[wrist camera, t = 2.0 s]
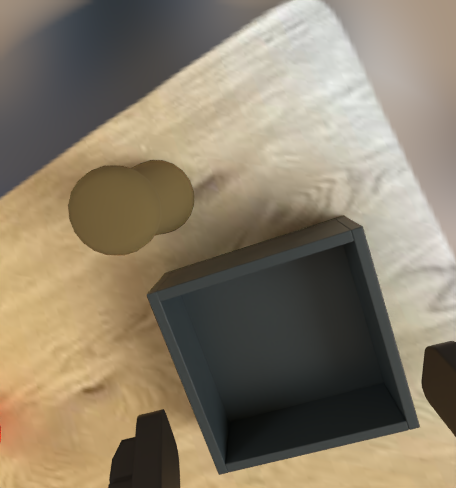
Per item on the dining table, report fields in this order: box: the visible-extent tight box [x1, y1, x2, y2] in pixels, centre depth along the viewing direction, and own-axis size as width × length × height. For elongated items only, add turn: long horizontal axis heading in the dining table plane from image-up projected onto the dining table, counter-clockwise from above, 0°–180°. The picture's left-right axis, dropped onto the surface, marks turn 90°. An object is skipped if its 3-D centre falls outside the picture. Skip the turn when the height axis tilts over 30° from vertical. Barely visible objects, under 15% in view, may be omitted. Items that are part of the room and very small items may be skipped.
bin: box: [147, 216, 420, 475], centre depth 30 cm, size 16×16×6 cm
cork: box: [68, 160, 194, 255], centre depth 25 cm, size 6×6×11 cm
